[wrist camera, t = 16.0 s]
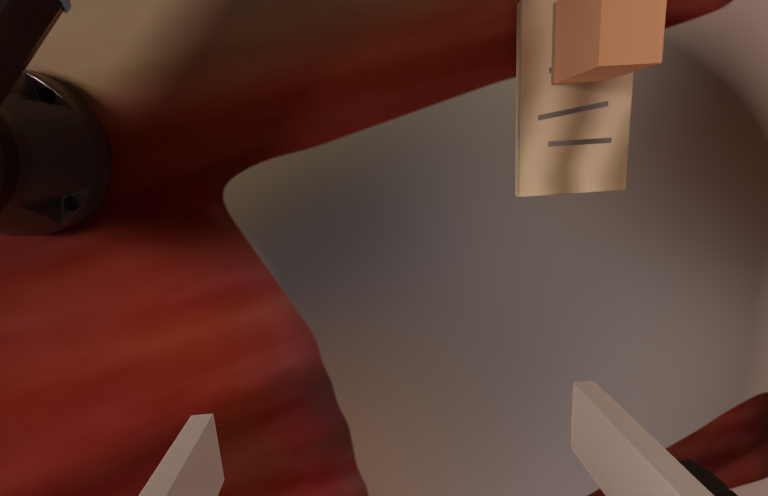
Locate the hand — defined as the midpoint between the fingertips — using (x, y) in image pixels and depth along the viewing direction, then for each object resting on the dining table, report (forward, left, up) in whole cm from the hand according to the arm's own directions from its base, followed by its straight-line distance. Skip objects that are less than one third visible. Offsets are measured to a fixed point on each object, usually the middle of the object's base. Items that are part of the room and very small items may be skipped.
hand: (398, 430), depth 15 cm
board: (+21, +14, -29) cm, 38 cm away
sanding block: (+20, +19, -28) cm, 39 cm away
